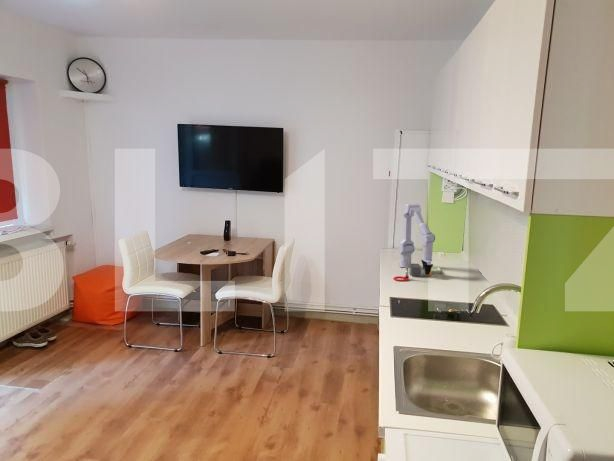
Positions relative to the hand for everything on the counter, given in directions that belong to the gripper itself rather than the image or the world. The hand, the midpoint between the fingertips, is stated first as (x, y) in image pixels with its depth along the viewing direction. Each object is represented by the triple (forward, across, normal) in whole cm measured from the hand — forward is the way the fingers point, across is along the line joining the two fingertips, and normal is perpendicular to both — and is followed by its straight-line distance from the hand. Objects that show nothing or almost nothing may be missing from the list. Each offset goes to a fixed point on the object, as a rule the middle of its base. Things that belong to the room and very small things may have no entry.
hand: (426, 272), depth 278 cm
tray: (+1, -9, +2) cm, 9 cm away
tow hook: (+2, +12, -18) cm, 21 cm away
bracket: (+1, 0, -7) cm, 7 cm away
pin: (+2, 0, -4) cm, 4 cm away
